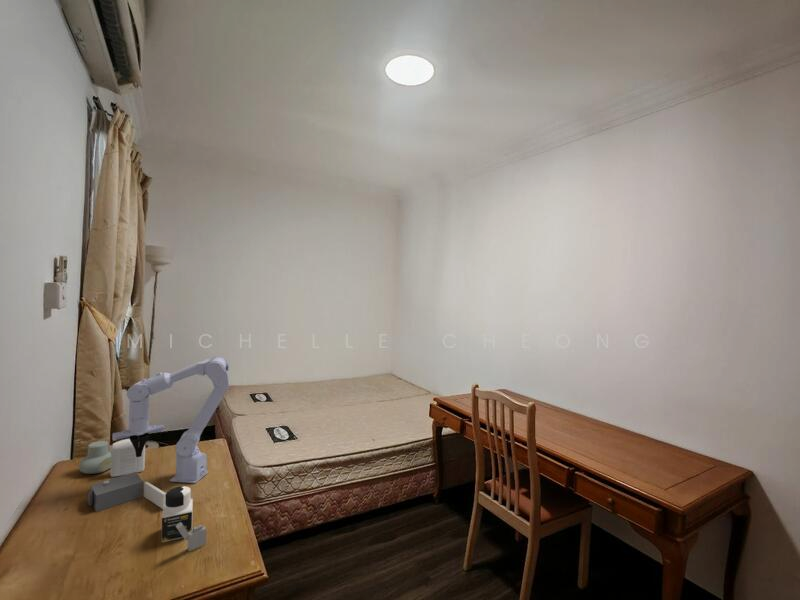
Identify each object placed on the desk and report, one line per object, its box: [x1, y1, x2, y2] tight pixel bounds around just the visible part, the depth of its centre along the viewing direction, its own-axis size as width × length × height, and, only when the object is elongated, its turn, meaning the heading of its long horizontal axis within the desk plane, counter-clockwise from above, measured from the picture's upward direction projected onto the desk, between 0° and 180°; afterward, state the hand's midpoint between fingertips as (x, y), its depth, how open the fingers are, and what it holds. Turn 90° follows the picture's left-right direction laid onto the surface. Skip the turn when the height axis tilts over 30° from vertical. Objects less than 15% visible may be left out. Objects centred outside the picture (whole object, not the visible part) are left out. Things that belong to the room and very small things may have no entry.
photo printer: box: [109, 438, 146, 478], centre depth 138 cm, size 10×4×12 cm, turn 123°
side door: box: [143, 480, 167, 510], centre depth 120 cm, size 13×2×5 cm, turn 57°
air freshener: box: [78, 440, 111, 475], centre depth 139 cm, size 11×8×10 cm
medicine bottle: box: [161, 485, 194, 543], centre depth 106 cm, size 7×7×12 cm
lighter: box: [176, 522, 208, 552], centre depth 99 cm, size 7×2×8 cm, turn 137°
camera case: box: [87, 472, 144, 513], centre depth 121 cm, size 13×9×6 cm
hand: (138, 455), depth 131 cm, fingers closed
